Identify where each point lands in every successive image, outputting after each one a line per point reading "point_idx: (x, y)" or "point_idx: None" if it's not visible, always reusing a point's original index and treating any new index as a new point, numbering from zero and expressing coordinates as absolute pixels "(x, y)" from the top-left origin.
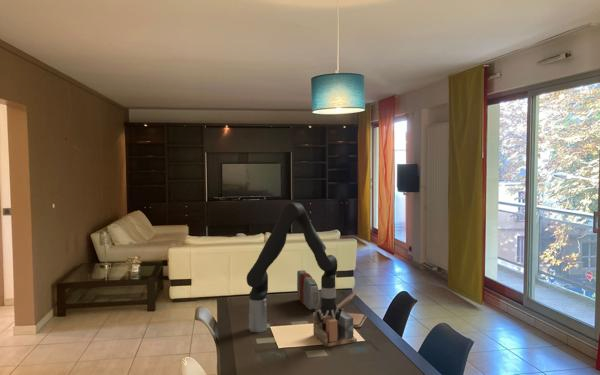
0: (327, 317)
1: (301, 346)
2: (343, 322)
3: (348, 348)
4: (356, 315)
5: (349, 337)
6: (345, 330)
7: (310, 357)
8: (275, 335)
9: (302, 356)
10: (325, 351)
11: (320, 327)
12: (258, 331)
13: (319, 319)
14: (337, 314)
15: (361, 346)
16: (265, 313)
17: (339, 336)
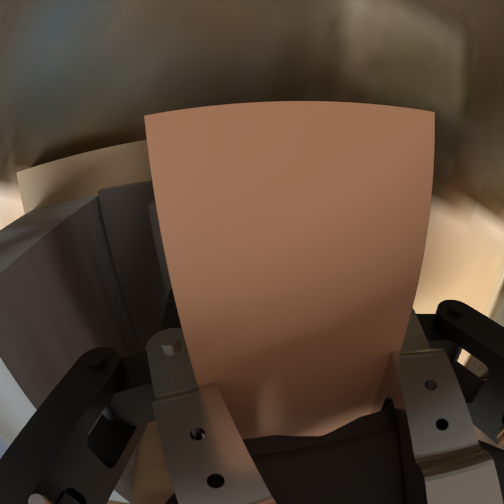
0: (328, 413)
1: (455, 197)
2: (40, 316)
3: (130, 41)
4: None
5: (60, 203)
6: (60, 222)
7: (452, 20)
8: (464, 357)
9: (482, 59)
10: (346, 41)
11: None
12: (484, 380)
13: (495, 325)
14: (87, 454)
15: (26, 75)
16: (491, 443)
17: (142, 239)
